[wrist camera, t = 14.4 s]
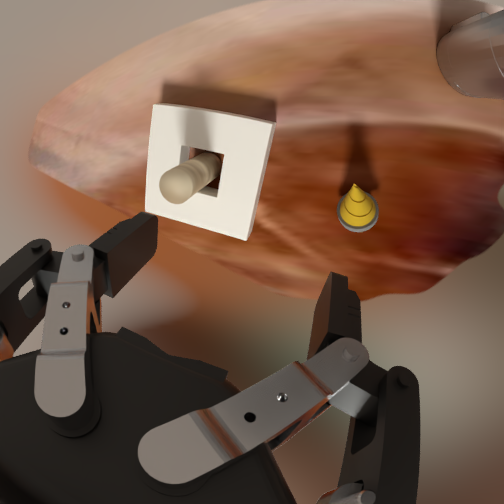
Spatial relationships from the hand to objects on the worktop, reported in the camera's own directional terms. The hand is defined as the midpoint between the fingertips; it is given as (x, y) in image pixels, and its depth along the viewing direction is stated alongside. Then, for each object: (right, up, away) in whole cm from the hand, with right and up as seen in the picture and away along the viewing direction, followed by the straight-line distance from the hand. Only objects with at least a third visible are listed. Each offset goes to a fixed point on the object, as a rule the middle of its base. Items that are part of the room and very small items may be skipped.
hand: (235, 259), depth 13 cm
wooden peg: (-5, +12, +27) cm, 30 cm away
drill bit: (+14, +7, +24) cm, 29 cm away
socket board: (-5, +12, +27) cm, 30 cm away
